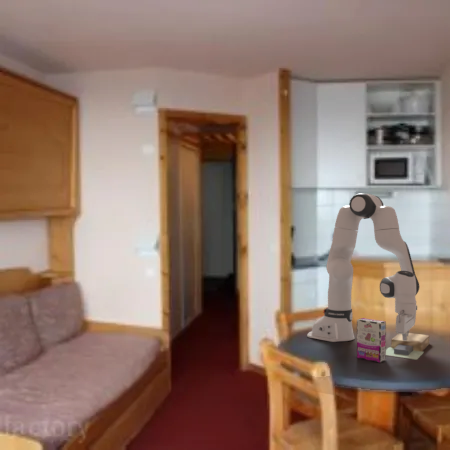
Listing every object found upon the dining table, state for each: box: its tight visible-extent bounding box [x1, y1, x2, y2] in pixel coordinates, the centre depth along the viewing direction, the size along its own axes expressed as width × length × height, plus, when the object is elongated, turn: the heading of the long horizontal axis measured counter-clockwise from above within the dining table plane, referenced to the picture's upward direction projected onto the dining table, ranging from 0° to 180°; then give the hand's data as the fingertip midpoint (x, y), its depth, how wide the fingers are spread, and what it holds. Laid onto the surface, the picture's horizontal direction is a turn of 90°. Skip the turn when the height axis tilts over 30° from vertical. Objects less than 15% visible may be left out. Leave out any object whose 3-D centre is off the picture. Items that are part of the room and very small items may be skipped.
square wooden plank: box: [390, 332, 430, 352], centre depth 250 cm, size 13×16×4 cm
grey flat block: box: [394, 344, 413, 355], centre depth 240 cm, size 6×9×2 cm, turn 149°
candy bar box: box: [356, 317, 387, 363], centre depth 230 cm, size 11×5×16 cm, turn 45°
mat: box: [386, 346, 425, 361], centre depth 238 cm, size 15×13×1 cm
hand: (405, 339), depth 242 cm, fingers closed
